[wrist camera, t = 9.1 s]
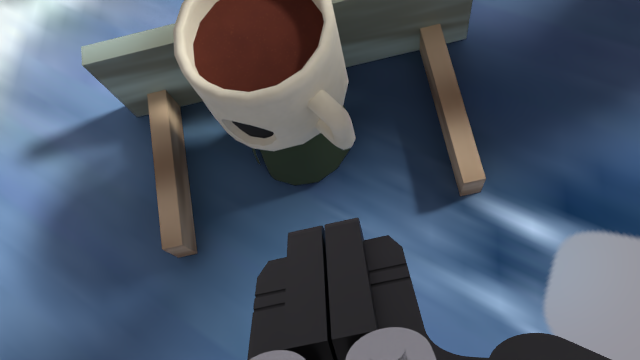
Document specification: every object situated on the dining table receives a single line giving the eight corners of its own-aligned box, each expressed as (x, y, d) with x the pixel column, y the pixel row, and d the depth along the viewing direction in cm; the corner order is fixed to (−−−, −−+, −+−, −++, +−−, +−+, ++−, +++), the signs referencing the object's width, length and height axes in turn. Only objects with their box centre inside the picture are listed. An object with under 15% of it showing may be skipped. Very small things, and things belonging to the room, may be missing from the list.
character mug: (207, 124, 38) (112, 7, 26) (286, 51, 39) (230, -95, 27) (323, 240, 35) (275, 167, 23) (407, 157, 36) (405, 44, 24)
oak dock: (135, 101, 40) (81, 46, 33) (461, 22, 38) (471, -51, 32) (150, 263, 36) (92, 239, 29) (511, 185, 34) (535, 140, 28)
